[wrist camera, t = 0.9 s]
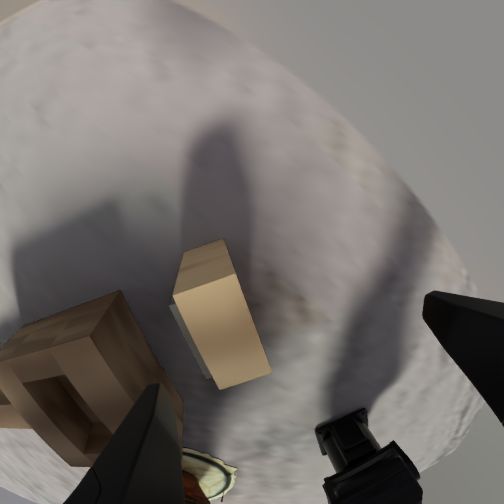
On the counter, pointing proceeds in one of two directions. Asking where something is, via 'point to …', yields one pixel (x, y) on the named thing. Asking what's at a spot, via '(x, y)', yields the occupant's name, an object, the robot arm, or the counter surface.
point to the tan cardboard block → (217, 317)
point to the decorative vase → (205, 477)
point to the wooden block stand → (79, 377)
